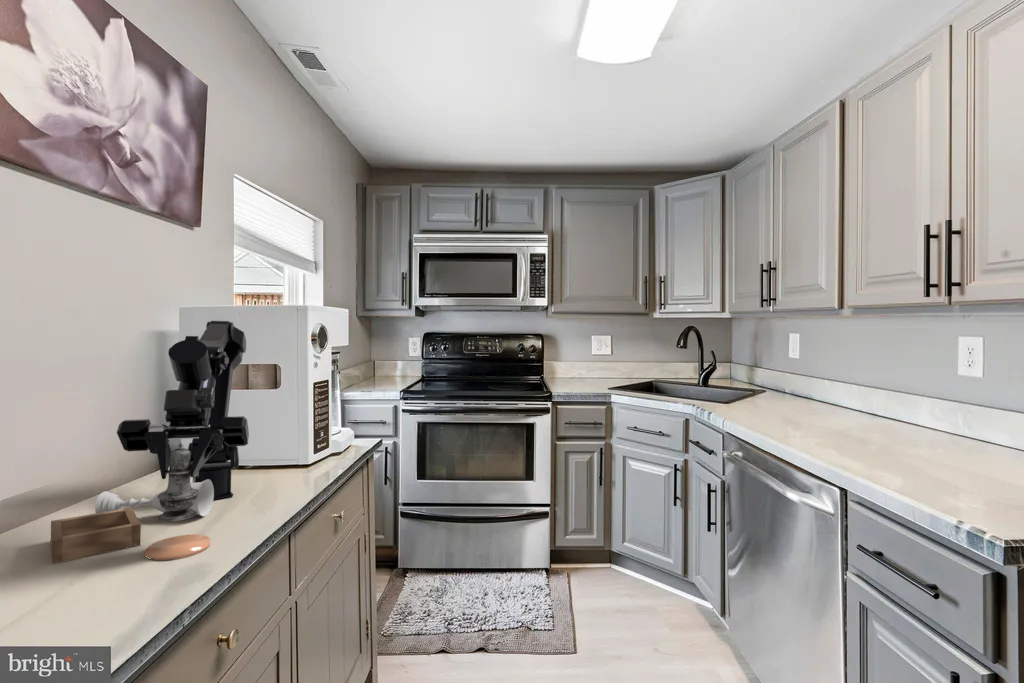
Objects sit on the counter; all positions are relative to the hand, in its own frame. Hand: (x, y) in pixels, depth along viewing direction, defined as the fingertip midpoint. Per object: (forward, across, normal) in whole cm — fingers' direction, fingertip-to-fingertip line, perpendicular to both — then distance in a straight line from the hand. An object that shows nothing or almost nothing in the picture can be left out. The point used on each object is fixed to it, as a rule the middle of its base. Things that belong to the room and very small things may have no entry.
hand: (177, 476), depth 83 cm
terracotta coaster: (+8, 0, +9) cm, 12 cm away
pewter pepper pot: (+4, 0, +6) cm, 7 cm away
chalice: (-8, -17, +22) cm, 29 cm away
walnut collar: (+3, -13, +14) cm, 20 cm away
